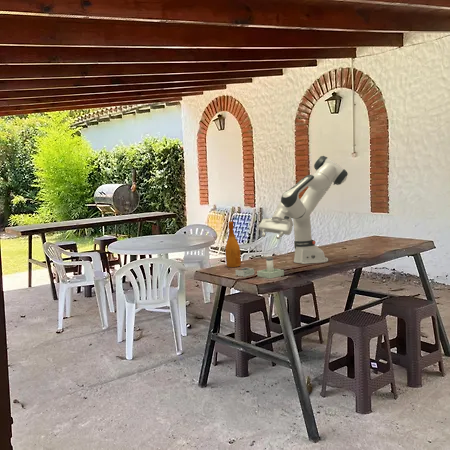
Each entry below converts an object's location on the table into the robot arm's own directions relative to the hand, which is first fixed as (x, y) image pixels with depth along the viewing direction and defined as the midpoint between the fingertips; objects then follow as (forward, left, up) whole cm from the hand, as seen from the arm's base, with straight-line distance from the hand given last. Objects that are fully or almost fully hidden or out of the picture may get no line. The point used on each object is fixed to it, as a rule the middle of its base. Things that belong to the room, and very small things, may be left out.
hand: (270, 237), depth 297 cm
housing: (+17, -6, -23) cm, 29 cm away
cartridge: (+1, 0, -22) cm, 22 cm away
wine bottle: (+29, -35, -23) cm, 51 cm away
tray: (+1, -1, -23) cm, 23 cm away
